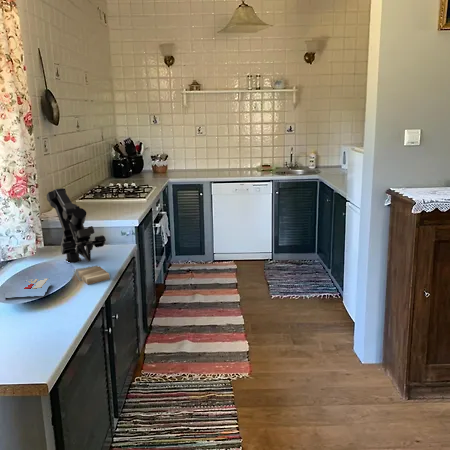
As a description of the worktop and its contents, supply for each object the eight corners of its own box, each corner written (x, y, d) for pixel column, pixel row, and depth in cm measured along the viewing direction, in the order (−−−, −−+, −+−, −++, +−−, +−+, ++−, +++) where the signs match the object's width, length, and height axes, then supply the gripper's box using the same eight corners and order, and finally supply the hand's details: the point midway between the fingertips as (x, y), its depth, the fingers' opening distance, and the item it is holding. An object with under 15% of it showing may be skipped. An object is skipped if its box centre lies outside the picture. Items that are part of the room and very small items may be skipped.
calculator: (13, 280, 194) (49, 276, 195) (15, 290, 195) (51, 286, 196) (2, 291, 183) (41, 286, 184) (5, 301, 184) (43, 296, 185)
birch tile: (78, 271, 203) (86, 279, 194) (99, 266, 208) (109, 273, 199) (78, 276, 204) (87, 284, 194) (100, 271, 209) (109, 279, 199)
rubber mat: (73, 270, 213) (73, 269, 213) (97, 266, 217) (97, 265, 217) (79, 281, 199) (79, 281, 198) (104, 277, 203) (103, 276, 203)
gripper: (59, 224, 198) (70, 256, 192) (101, 217, 208) (113, 247, 202) (56, 238, 206) (66, 269, 200) (97, 231, 216) (108, 259, 210)
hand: (89, 260), depth 203 cm, fingers closed
